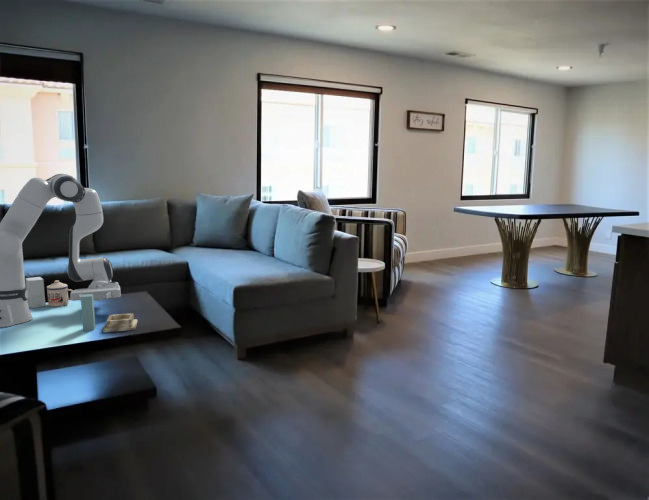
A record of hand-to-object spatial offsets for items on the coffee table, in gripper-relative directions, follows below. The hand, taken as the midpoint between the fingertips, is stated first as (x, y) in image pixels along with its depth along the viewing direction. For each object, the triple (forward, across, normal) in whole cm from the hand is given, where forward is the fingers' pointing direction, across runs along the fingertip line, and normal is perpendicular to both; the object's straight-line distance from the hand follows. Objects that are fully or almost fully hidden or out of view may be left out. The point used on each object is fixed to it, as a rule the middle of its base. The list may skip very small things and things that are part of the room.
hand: (93, 297), depth 216 cm
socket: (+12, +11, +10) cm, 20 cm away
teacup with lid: (-33, -20, +10) cm, 39 cm away
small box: (-34, -31, +10) cm, 47 cm away
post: (+12, -1, +10) cm, 16 cm away
